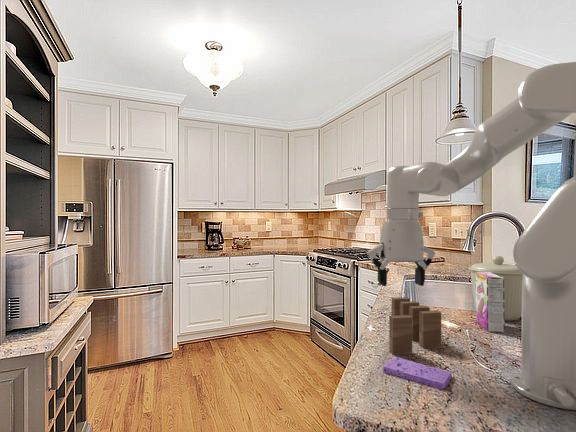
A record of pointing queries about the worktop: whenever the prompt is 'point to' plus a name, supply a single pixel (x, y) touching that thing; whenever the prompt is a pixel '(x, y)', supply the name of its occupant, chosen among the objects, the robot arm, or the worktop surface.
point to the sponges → (417, 372)
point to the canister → (510, 285)
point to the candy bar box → (490, 301)
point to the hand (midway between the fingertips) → (401, 284)
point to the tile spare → (400, 334)
